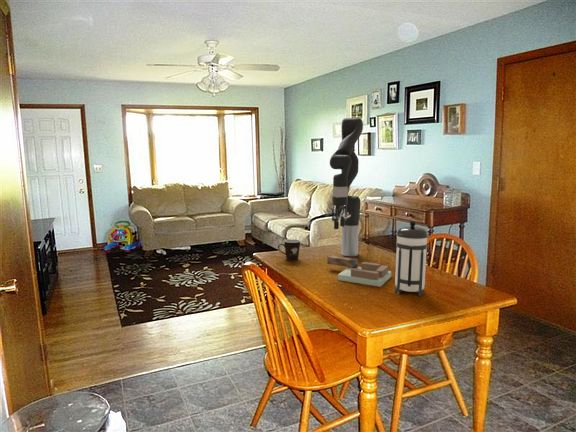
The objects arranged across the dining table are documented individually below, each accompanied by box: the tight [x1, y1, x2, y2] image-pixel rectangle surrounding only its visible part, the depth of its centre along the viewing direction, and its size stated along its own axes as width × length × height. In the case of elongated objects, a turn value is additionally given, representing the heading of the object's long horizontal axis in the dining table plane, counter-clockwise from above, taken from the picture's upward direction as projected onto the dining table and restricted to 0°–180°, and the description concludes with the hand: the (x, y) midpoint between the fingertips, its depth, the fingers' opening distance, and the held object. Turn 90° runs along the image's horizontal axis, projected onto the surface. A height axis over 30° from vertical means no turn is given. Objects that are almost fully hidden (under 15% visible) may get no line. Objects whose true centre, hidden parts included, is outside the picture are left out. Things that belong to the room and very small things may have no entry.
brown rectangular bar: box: [326, 255, 359, 268], centre depth 213 cm, size 15×3×4 cm, turn 61°
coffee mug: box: [277, 238, 301, 262], centre depth 234 cm, size 12×9×10 cm
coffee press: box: [394, 220, 429, 297], centre depth 180 cm, size 17×16×30 cm
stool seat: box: [337, 261, 392, 287], centre depth 201 cm, size 17×20×6 cm
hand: (339, 227), depth 219 cm, fingers open, 7 cm apart
